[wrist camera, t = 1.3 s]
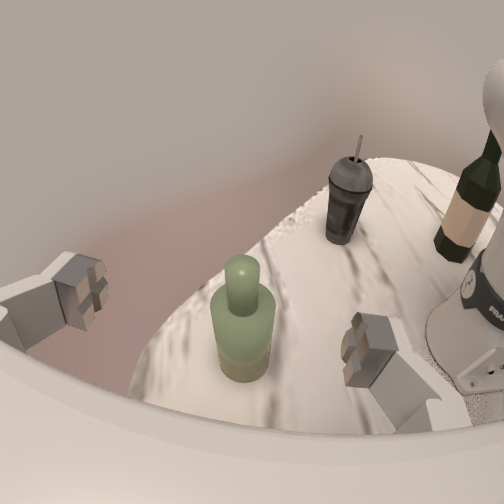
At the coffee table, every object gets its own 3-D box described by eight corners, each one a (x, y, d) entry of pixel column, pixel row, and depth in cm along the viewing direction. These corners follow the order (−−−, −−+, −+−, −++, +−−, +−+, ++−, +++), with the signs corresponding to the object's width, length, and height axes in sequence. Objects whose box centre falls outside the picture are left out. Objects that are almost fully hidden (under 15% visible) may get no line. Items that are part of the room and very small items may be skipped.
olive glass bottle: (274, 348, 37) (288, 252, 26) (258, 389, 33) (265, 306, 21) (230, 334, 39) (223, 235, 27) (212, 372, 35) (191, 283, 23)
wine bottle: (426, 237, 54) (474, 97, 33) (452, 234, 55) (500, 107, 34) (447, 266, 48) (510, 119, 27) (473, 260, 49) (532, 128, 28)
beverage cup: (356, 227, 55) (380, 129, 42) (357, 253, 50) (387, 147, 36) (319, 220, 57) (336, 120, 43) (316, 246, 51) (336, 136, 38)
